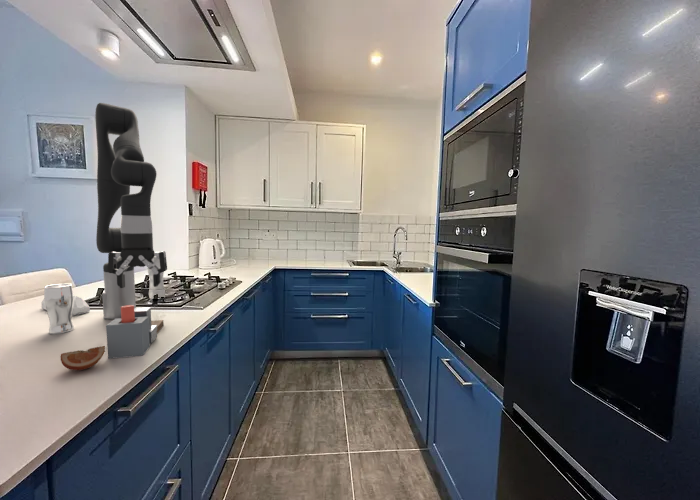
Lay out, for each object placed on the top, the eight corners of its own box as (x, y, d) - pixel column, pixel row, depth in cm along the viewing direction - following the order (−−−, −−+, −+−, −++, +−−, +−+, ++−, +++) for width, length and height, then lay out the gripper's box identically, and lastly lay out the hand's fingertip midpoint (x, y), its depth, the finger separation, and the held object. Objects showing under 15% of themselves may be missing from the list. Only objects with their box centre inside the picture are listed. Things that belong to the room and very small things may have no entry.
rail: (130, 347, 90) (129, 341, 90) (150, 326, 108) (150, 320, 108) (146, 346, 91) (145, 339, 91) (163, 325, 109) (163, 319, 109)
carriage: (126, 345, 90) (124, 313, 89) (133, 338, 96) (131, 307, 95) (151, 343, 92) (150, 311, 91) (157, 336, 98) (156, 306, 97)
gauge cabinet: (107, 358, 83) (106, 325, 82) (117, 349, 89) (115, 318, 88) (142, 355, 85) (141, 322, 85) (149, 346, 91) (148, 316, 90)
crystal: (97, 302, 124) (67, 295, 135) (78, 296, 118) (47, 289, 129) (87, 320, 122) (57, 311, 132) (67, 315, 116) (36, 307, 126)
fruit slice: (105, 359, 83) (104, 341, 82) (107, 368, 78) (106, 349, 77) (61, 369, 77) (60, 349, 77) (61, 379, 72) (59, 358, 72)
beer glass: (80, 328, 105) (77, 284, 103) (55, 335, 98) (52, 288, 97) (67, 326, 107) (64, 282, 106) (41, 333, 101) (37, 286, 99)
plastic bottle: (158, 301, 140) (156, 257, 139) (145, 300, 142) (143, 256, 140) (169, 298, 147) (167, 255, 145) (156, 297, 148) (154, 255, 146)
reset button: (120, 333, 85) (118, 308, 84) (124, 330, 87) (123, 305, 87) (133, 332, 85) (131, 307, 85) (136, 329, 88) (135, 304, 88)
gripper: (168, 231, 96) (169, 283, 98) (113, 230, 92) (116, 285, 94) (161, 232, 89) (163, 288, 91) (101, 232, 85) (105, 291, 87)
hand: (139, 286), depth 92 cm, fingers open, 8 cm apart
